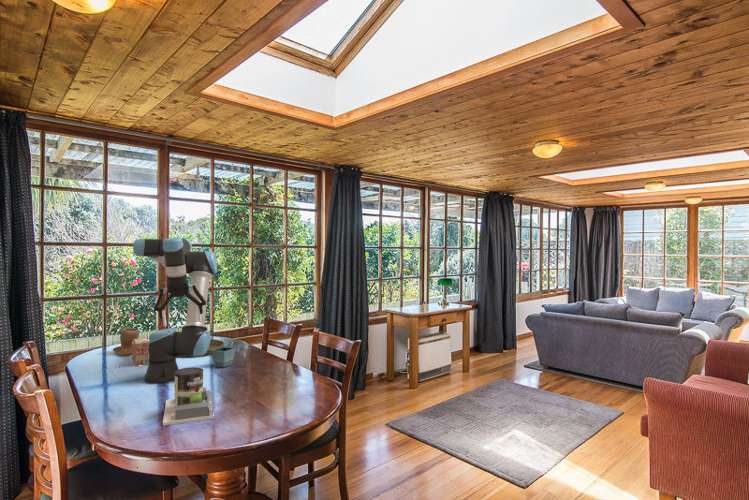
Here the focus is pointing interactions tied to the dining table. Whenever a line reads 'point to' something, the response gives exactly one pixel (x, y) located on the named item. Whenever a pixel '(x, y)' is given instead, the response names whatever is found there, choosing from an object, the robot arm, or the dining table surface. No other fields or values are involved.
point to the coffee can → (188, 386)
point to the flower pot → (223, 356)
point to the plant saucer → (211, 347)
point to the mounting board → (170, 414)
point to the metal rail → (209, 403)
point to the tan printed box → (140, 351)
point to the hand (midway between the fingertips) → (182, 323)
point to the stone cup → (126, 341)
